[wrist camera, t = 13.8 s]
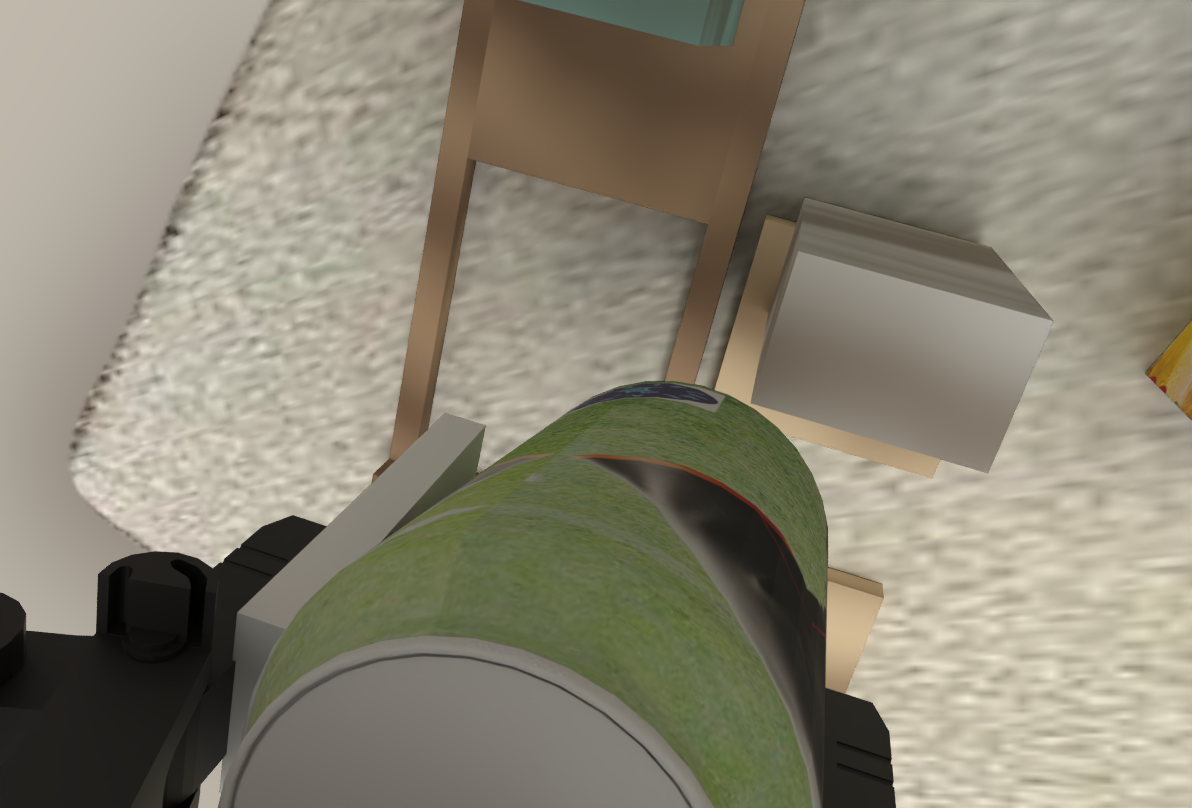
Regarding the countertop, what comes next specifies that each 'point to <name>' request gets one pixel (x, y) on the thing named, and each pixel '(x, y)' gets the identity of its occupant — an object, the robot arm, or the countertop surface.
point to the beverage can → (569, 631)
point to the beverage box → (1176, 371)
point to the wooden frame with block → (603, 136)
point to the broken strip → (880, 359)
